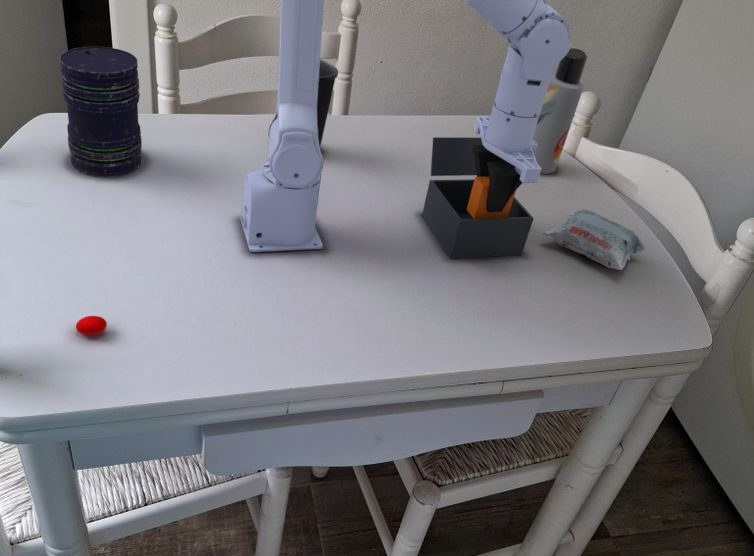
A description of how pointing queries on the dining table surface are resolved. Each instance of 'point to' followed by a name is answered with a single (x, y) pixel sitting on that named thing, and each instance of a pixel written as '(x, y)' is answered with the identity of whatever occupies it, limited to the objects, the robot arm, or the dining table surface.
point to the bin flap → (453, 156)
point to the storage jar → (102, 110)
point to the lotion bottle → (559, 110)
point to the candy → (91, 325)
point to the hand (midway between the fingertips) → (489, 205)
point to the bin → (472, 223)
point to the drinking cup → (324, 94)
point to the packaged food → (597, 239)
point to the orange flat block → (484, 201)
